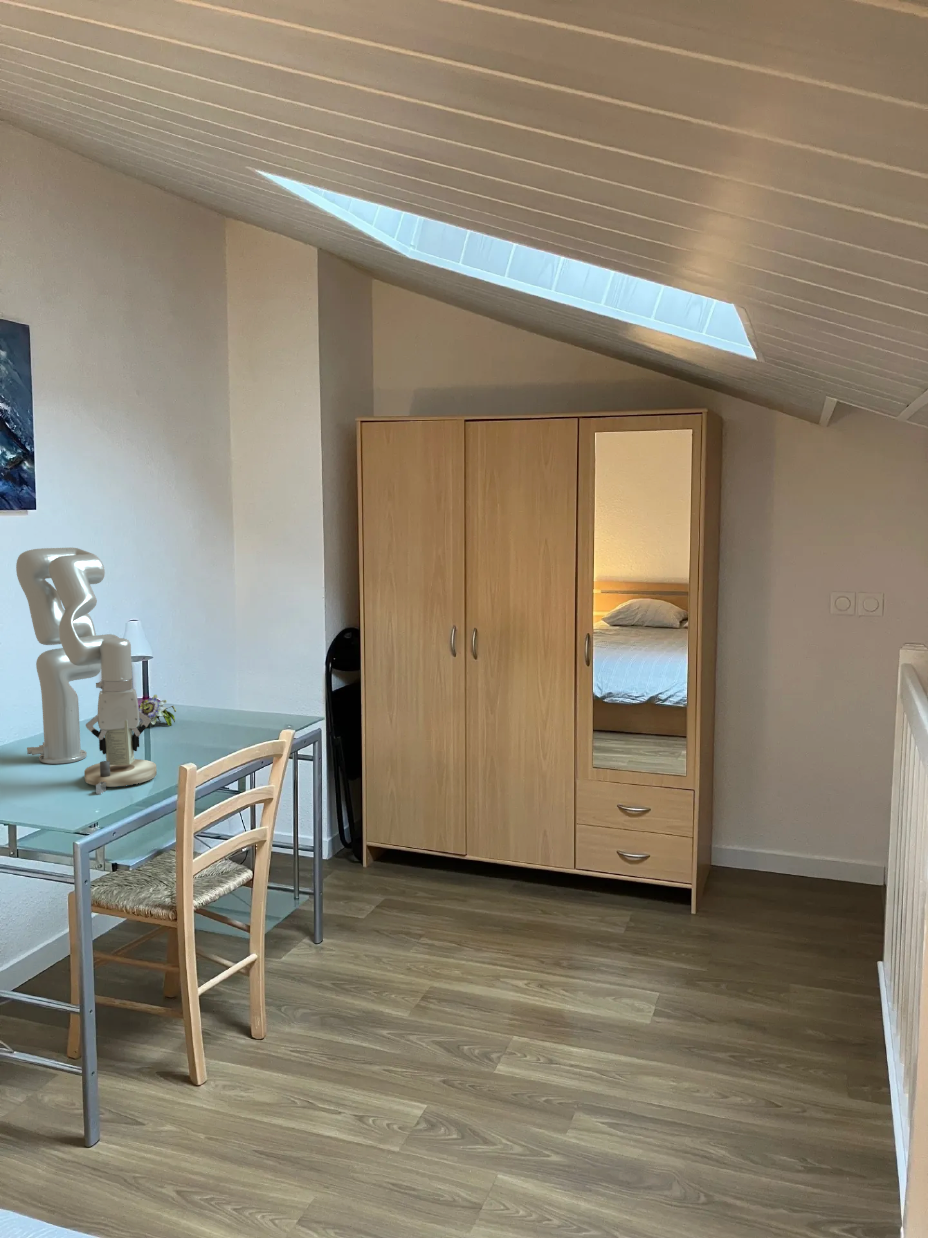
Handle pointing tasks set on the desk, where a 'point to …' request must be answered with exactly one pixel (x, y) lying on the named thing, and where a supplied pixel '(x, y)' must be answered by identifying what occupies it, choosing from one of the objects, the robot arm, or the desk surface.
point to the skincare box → (119, 746)
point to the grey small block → (101, 787)
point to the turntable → (120, 773)
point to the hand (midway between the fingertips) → (119, 751)
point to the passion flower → (155, 710)
